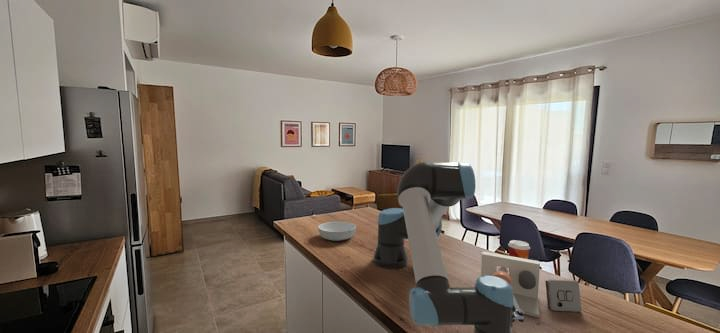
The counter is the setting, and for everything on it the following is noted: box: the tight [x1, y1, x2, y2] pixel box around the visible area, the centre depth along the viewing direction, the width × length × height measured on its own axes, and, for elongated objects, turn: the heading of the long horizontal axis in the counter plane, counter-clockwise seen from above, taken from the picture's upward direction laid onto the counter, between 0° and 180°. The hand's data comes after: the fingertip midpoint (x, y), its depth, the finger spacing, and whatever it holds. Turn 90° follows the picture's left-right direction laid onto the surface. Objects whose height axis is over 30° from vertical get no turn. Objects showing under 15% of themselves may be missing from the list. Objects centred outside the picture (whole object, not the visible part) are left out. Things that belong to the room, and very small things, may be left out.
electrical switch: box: [545, 279, 582, 313], centre depth 97 cm, size 9×5×9 cm, turn 86°
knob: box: [492, 266, 512, 285], centre depth 102 cm, size 6×13×6 cm, turn 151°
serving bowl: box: [317, 221, 357, 242], centre depth 163 cm, size 21×21×7 cm
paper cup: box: [507, 239, 531, 276], centre depth 118 cm, size 8×8×14 cm
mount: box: [480, 251, 541, 319], centre depth 101 cm, size 18×14×13 cm
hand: (501, 285), depth 96 cm, fingers closed
